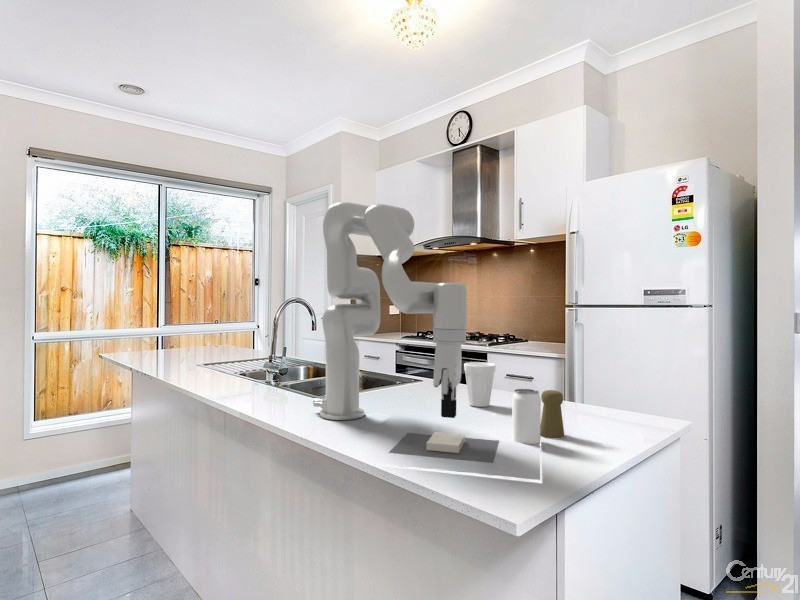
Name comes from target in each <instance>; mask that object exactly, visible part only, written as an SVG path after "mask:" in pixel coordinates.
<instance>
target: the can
mask: <svg viewBox="0 0 800 600" xmlns="http://www.w3.org/2000/svg"><path fill="white" fill-rule="evenodd" d="M539 393H540V391H539V390H536V389H531V388H517V389H514V392H513V394H512V400H511V401H512V402H511V404H512V405H511V407H512V408H511V416H512V417H511V439H512V441H514V442H517V443H520V444H526V445H528V444H531V445H533V444H538V443H539V444H540V443H541V436H540V425H541V418H542V413H541V412H542V409H541V407H542V404H541V403H542V399H541V396H540V394H539Z"/></svg>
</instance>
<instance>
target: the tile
mask: <svg viewBox="0 0 800 600" xmlns="http://www.w3.org/2000/svg"><path fill="white" fill-rule="evenodd" d="M431 435H432V436H431V438H430V439H429V440H428V442H427V450H430V451H440V452H451V453H459V452H460V450H461V448H462V446H463V444H464V442H465V438H466V434H465V433H456V432H455V433H453V432H452V433H451V432H440V431H434V432H433V434H431Z"/></svg>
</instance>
